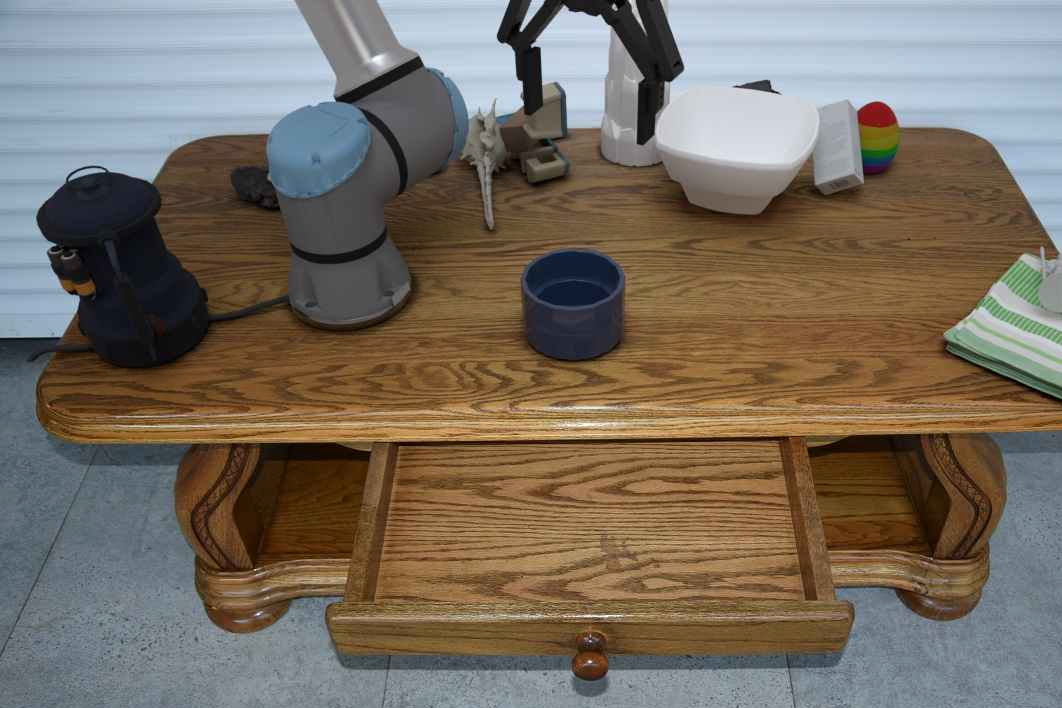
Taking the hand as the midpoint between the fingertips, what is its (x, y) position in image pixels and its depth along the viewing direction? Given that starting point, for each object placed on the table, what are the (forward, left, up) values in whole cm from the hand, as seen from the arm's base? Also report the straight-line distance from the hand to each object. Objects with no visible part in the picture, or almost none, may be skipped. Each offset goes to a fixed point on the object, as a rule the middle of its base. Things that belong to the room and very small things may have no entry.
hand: (588, 124), depth 100 cm
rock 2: (+38, +47, -21) cm, 64 cm away
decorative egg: (+49, +26, -25) cm, 61 cm away
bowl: (+26, +22, -25) cm, 42 cm away
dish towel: (+53, -17, -25) cm, 61 cm away
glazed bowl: (-3, -3, -25) cm, 26 cm away
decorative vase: (+16, +39, -26) cm, 49 cm away
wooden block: (-4, +35, -19) cm, 40 cm away
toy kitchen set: (-3, +39, -18) cm, 43 cm away
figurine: (+54, -16, -20) cm, 60 cm away
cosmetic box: (+41, +17, -23) cm, 50 cm away
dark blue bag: (-54, +16, -14) cm, 59 cm away
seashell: (-8, +34, -25) cm, 43 cm away
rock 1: (-38, +37, -26) cm, 59 cm away
